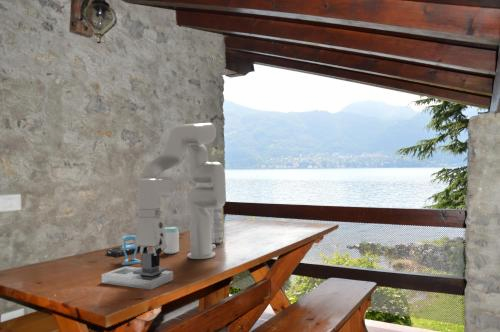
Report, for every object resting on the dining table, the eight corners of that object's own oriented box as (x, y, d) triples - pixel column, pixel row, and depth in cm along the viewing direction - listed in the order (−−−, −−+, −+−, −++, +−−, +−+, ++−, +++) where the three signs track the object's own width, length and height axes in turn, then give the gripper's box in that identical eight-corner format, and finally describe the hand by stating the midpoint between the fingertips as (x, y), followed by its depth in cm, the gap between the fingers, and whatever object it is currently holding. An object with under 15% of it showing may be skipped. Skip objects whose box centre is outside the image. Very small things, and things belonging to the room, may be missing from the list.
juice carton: (224, 240, 211) (223, 196, 211) (222, 243, 203) (221, 198, 203) (207, 240, 212) (206, 197, 212) (204, 243, 204) (203, 198, 204)
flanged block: (149, 274, 141) (148, 249, 141) (168, 277, 137) (167, 250, 137) (133, 281, 133) (132, 254, 133) (152, 283, 130) (151, 255, 130)
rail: (125, 274, 148) (125, 266, 148) (173, 279, 138) (172, 271, 138) (101, 282, 137) (101, 274, 137) (151, 289, 128) (151, 280, 128)
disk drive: (118, 258, 177) (145, 252, 189) (117, 252, 177) (145, 246, 189) (106, 255, 184) (133, 249, 195) (105, 249, 184) (133, 244, 195)
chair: (139, 259, 173) (138, 232, 173) (141, 263, 165) (140, 234, 165) (121, 261, 170) (120, 233, 170) (122, 265, 162) (121, 236, 162)
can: (175, 254, 180) (174, 228, 180) (161, 254, 181) (160, 228, 181) (181, 251, 187) (180, 226, 187) (167, 251, 188) (167, 226, 188)
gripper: (175, 213, 135) (176, 265, 135) (138, 211, 142) (139, 261, 142) (162, 215, 128) (163, 270, 128) (123, 214, 135) (124, 266, 135)
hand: (150, 265), depth 135 cm, fingers closed on flanged block, 3 cm apart
